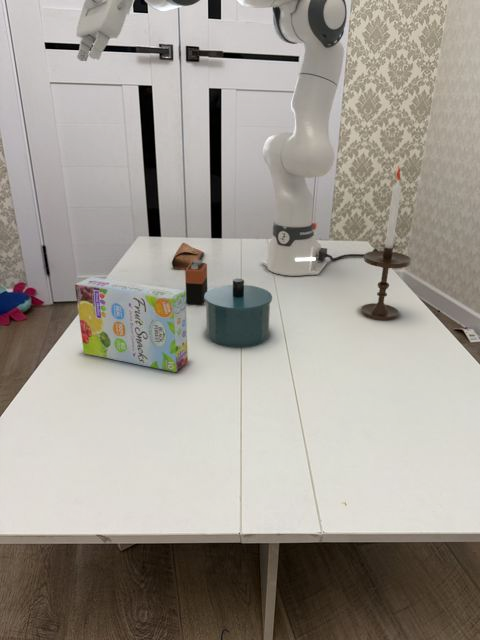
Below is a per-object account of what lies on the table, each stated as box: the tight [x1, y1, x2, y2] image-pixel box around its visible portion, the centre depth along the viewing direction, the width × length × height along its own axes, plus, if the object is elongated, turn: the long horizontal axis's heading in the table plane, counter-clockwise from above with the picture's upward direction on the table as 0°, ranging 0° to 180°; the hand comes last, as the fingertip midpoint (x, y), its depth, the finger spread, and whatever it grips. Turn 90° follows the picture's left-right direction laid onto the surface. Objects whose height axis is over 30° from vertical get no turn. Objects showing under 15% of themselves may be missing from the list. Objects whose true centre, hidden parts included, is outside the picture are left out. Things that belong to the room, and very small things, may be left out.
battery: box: [184, 259, 208, 306], centre depth 128 cm, size 4×7×10 cm, turn 175°
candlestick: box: [360, 165, 412, 321], centre depth 118 cm, size 11×11×35 cm
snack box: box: [74, 276, 189, 373], centre depth 97 cm, size 21×6×15 cm, turn 71°
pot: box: [205, 302, 271, 348], centre depth 111 cm, size 14×14×8 cm
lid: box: [204, 277, 273, 311], centre depth 108 cm, size 15×15×5 cm
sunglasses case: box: [171, 242, 205, 271], centre depth 161 cm, size 18×7×7 cm
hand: (87, 59), depth 105 cm, fingers open, 8 cm apart
